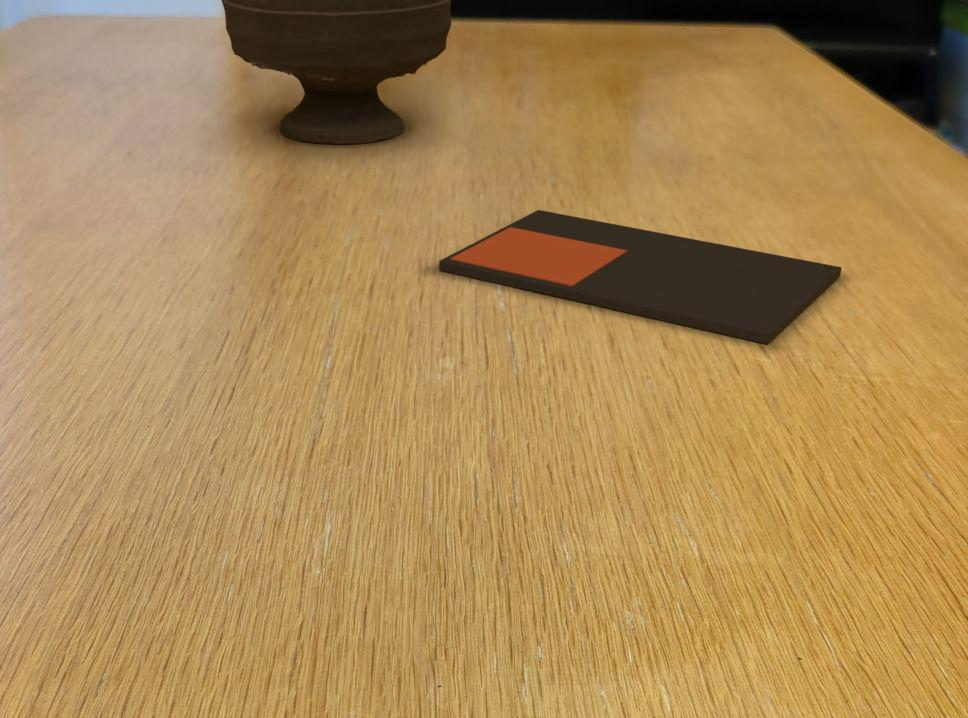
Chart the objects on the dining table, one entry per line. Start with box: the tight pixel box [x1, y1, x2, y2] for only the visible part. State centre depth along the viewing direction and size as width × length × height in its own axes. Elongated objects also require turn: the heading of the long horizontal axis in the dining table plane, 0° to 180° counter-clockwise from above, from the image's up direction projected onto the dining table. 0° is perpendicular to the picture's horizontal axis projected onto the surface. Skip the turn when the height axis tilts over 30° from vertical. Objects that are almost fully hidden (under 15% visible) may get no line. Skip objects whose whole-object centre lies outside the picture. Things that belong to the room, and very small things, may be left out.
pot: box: [221, 0, 453, 145], centre depth 94 cm, size 18×18×20 cm
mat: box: [438, 209, 843, 345], centre depth 70 cm, size 20×12×1 cm, turn 57°
